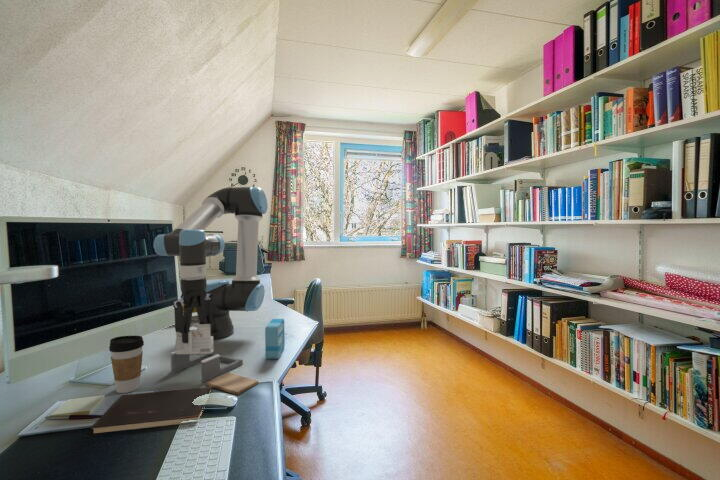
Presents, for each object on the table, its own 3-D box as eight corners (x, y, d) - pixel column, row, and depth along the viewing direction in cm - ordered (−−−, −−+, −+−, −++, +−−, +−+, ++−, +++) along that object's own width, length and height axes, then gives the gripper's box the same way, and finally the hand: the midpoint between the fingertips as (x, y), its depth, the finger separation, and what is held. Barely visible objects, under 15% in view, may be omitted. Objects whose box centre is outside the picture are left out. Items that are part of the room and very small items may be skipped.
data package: (278, 360, 124) (277, 327, 123) (265, 360, 123) (264, 327, 123) (284, 348, 135) (284, 317, 135) (273, 348, 135) (272, 317, 135)
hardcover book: (198, 424, 85) (198, 415, 85) (91, 436, 80) (90, 427, 80) (212, 393, 101) (212, 385, 100) (122, 402, 96) (122, 393, 96)
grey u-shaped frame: (170, 372, 114) (170, 352, 113) (210, 356, 127) (210, 338, 127) (204, 382, 106) (203, 361, 106) (243, 364, 120) (242, 345, 120)
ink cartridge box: (179, 352, 113) (178, 322, 113) (214, 351, 114) (213, 321, 114) (175, 354, 111) (174, 324, 110) (211, 354, 112) (210, 324, 111)
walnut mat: (206, 385, 105) (206, 382, 105) (227, 374, 112) (227, 372, 112) (237, 394, 99) (237, 392, 99) (258, 383, 106) (258, 380, 106)
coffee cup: (114, 384, 105) (112, 335, 104) (147, 379, 108) (145, 332, 107) (107, 397, 97) (105, 344, 96) (142, 392, 100) (140, 340, 100)
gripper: (175, 283, 102) (177, 361, 103) (224, 275, 117) (225, 343, 119) (159, 281, 105) (161, 357, 106) (208, 273, 121) (210, 339, 122)
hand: (195, 349), depth 113 cm, fingers closed on ink cartridge box, 4 cm apart
